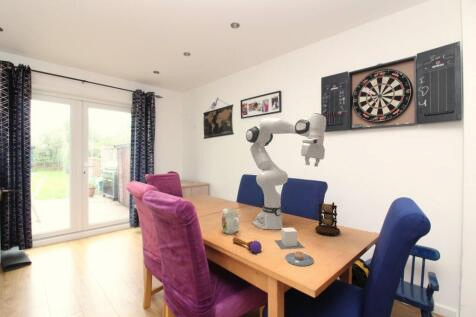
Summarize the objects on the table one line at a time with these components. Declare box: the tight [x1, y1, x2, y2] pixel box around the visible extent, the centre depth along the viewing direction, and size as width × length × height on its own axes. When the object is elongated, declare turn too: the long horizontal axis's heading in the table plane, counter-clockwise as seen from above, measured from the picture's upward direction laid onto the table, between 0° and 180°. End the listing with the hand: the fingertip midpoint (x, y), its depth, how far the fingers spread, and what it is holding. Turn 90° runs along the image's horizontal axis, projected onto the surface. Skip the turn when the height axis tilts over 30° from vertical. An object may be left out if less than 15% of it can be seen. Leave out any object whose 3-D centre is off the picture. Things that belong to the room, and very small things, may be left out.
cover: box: [280, 227, 298, 247], centre depth 128 cm, size 7×7×8 cm
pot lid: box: [284, 251, 315, 267], centre depth 110 cm, size 13×13×3 cm
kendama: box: [232, 236, 262, 254], centre depth 124 cm, size 6×6×20 cm
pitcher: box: [221, 208, 240, 235], centre depth 148 cm, size 11×18×14 cm, turn 33°
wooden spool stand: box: [314, 200, 341, 237], centre depth 147 cm, size 15×15×20 cm
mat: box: [274, 239, 306, 250], centre depth 128 cm, size 13×13×1 cm
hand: (311, 165), depth 132 cm, fingers open, 8 cm apart
